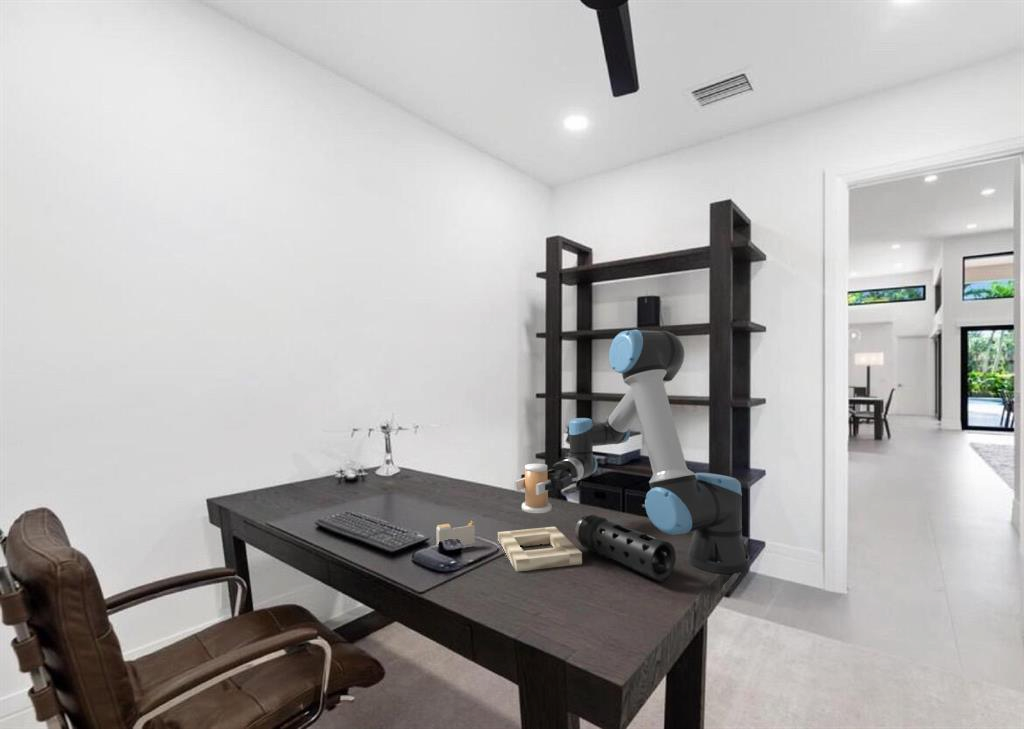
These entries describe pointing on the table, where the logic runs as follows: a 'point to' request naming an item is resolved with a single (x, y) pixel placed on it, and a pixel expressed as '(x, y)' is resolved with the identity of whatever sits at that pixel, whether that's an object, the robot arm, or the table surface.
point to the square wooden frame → (539, 558)
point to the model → (456, 533)
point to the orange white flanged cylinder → (533, 477)
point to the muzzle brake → (626, 546)
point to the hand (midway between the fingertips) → (526, 487)
